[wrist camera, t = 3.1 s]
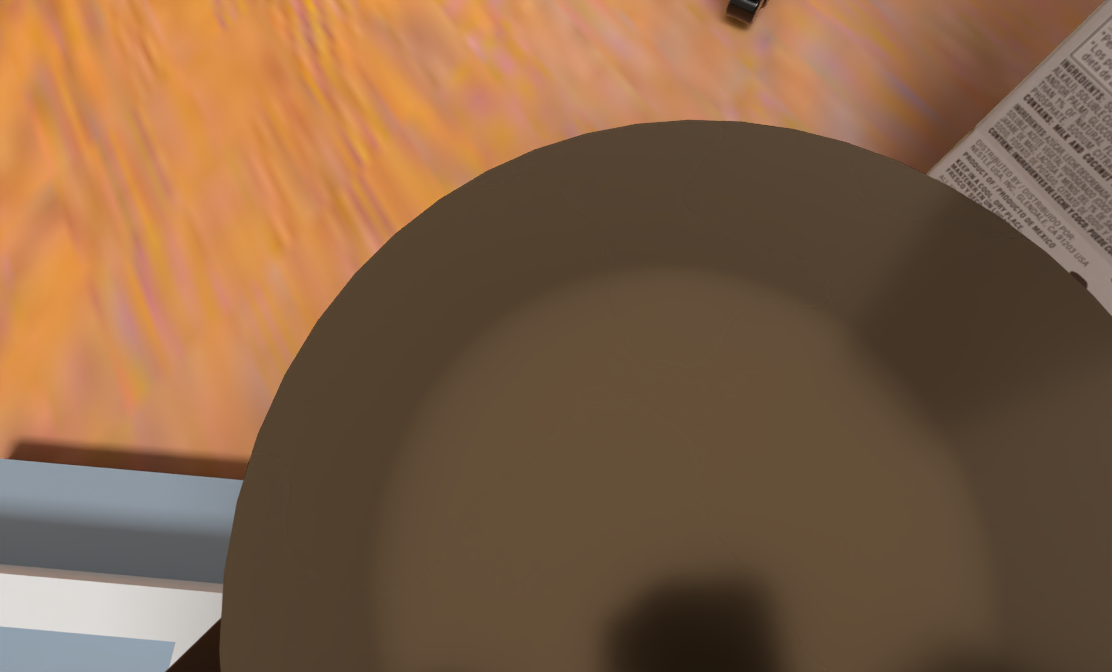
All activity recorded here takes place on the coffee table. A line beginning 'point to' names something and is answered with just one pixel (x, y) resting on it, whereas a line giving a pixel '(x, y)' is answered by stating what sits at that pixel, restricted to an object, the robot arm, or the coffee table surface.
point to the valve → (745, 9)
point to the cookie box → (1051, 156)
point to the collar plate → (108, 565)
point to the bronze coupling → (687, 429)
